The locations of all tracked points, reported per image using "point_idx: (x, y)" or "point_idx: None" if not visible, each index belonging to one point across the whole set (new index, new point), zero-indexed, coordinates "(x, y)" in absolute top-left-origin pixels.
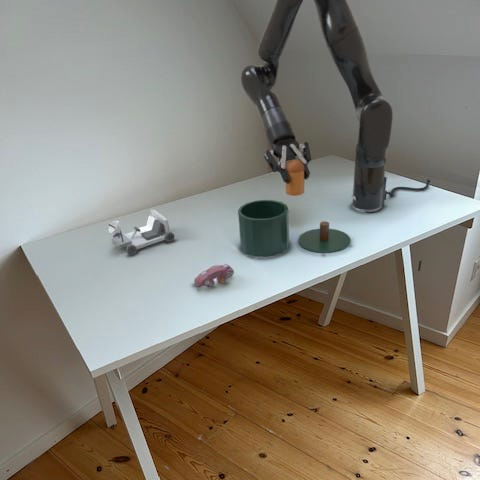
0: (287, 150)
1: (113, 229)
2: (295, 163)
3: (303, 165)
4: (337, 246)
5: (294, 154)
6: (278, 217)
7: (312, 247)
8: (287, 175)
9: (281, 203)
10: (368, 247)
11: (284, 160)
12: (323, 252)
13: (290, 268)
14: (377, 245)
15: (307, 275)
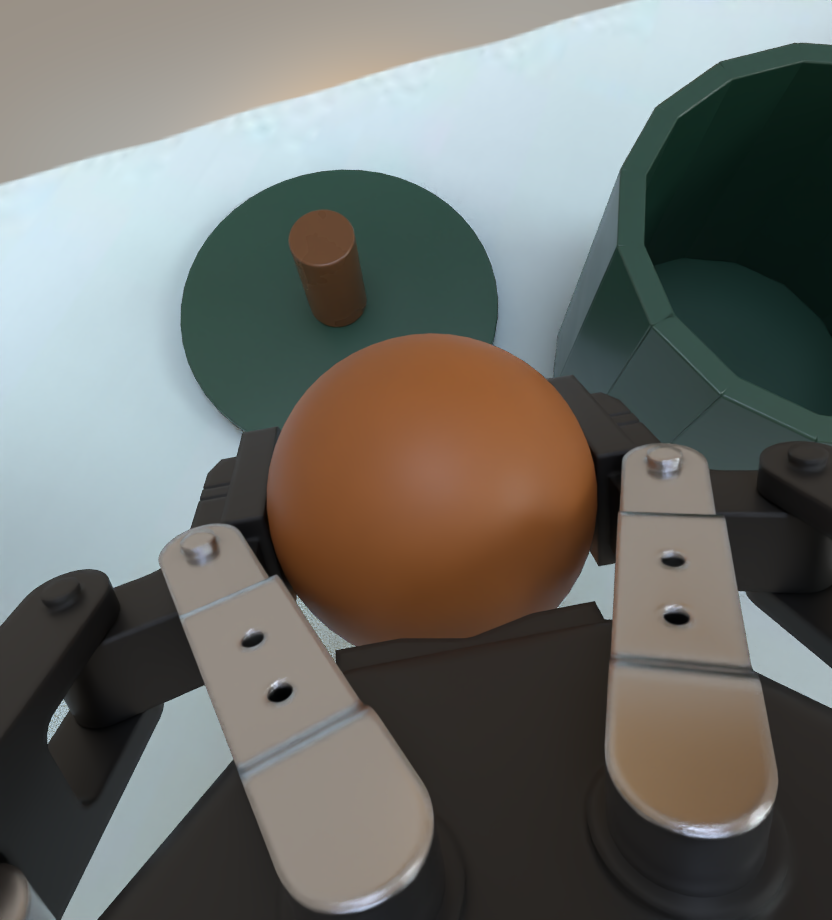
0: (539, 771)
1: None
2: (451, 355)
3: (286, 422)
4: (303, 204)
5: (353, 675)
6: (736, 61)
7: (441, 235)
8: (583, 401)
9: (657, 287)
10: (141, 194)
11: (650, 513)
12: (400, 181)
13: (609, 128)
14: (86, 198)
15: (546, 53)
